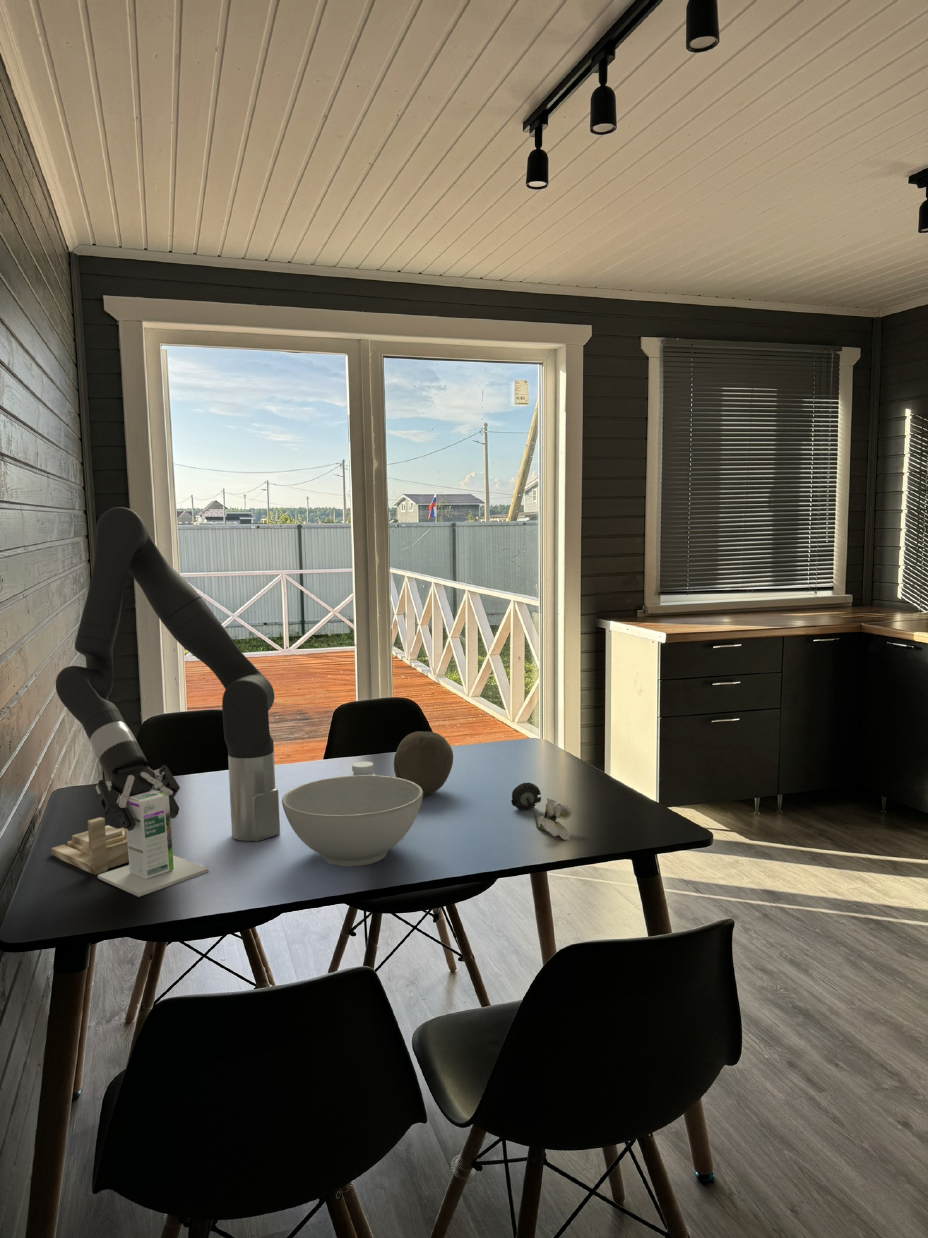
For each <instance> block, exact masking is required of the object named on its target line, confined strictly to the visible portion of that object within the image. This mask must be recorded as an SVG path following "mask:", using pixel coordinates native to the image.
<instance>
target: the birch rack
mask: <svg viewBox="0 0 928 1238" xmlns="http://www.w3.org/2000/svg"><path fill="white" fill-rule="evenodd" d="M105 826H106V819H105V817H101V816H100V817H96V818H93V819H89V820H87V831H88V835H89V838H86V839H83V852H80V851H78V850H76V849H73V848H71V847H69V846H68V845H67V844H61V845H57V846H54V847H51V848H50V851H51V855H52V854H53V855H54V856H56V857H57V859H58V858H59V859H58V860H61V861H63V862H65V863H67V864H70V865H72V866H74V867H77V868H79V869H81V870H82V871H85V872H88V873H90V874H92V875H94V876H96V875H99V874H102V873H106V872H109V869H110V868H114V867H117V866H121V865H123V864H126V863H129V855H128V841H127V829H125V828H124V827H120V828H118V829H119V830H122V836H124V840H125V841H122V842H119V843H115V844H112V845H109V846H106V833H105ZM54 856H53V857H54ZM56 857H55V858H56Z"/></svg>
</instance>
